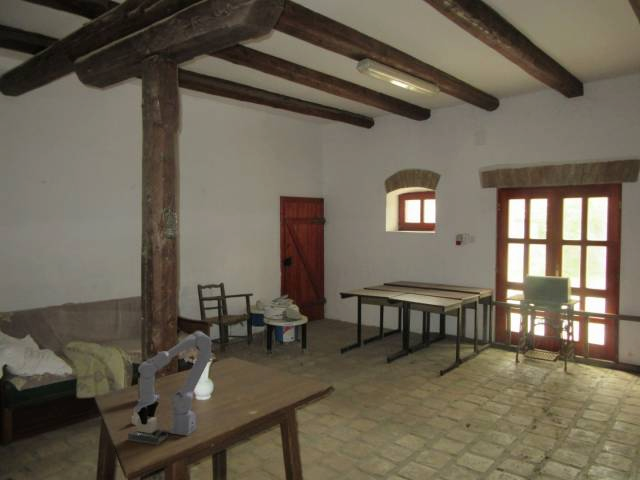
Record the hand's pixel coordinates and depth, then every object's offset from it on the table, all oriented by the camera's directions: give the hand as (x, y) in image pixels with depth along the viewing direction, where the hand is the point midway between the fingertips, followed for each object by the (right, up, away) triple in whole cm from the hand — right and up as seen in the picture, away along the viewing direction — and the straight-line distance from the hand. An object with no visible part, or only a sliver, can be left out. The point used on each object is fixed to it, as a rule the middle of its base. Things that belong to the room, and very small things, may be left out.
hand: (147, 421), depth 203 cm
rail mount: (0, -7, 0) cm, 7 cm away
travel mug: (-15, -5, +40) cm, 43 cm away
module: (0, -4, 0) cm, 4 cm away
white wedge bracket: (-9, -7, +16) cm, 20 cm away
